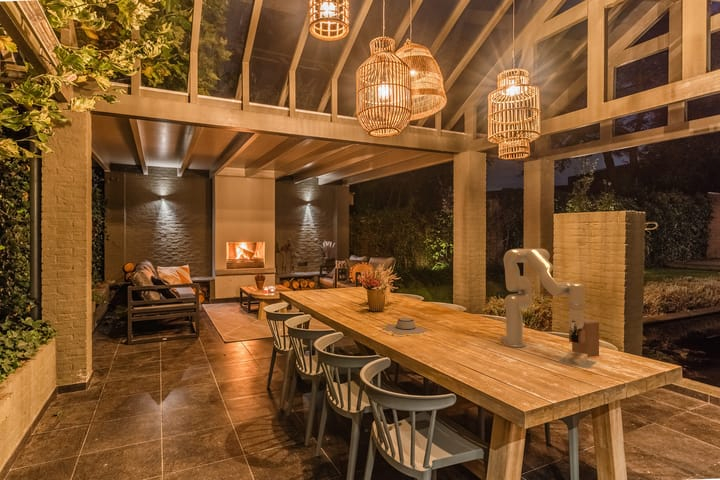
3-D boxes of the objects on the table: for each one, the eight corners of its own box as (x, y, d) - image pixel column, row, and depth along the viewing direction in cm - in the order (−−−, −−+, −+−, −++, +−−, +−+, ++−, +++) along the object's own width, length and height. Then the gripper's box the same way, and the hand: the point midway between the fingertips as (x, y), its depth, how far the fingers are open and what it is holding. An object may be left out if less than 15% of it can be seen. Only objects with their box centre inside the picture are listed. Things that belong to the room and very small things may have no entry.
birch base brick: (566, 362, 210) (566, 354, 210) (571, 358, 216) (571, 351, 216) (582, 365, 205) (582, 357, 205) (587, 361, 210) (587, 354, 210)
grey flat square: (556, 363, 210) (556, 362, 210) (566, 357, 221) (566, 356, 221) (588, 370, 200) (588, 368, 200) (597, 363, 210) (596, 361, 210)
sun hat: (370, 331, 290) (370, 318, 290) (404, 324, 313) (404, 312, 313) (406, 340, 262) (406, 326, 262) (441, 332, 285) (441, 319, 285)
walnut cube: (569, 341, 210) (568, 330, 210) (572, 339, 214) (572, 328, 214) (581, 343, 206) (581, 332, 206) (585, 341, 210) (585, 330, 210)
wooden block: (585, 358, 219) (585, 322, 219) (571, 353, 228) (571, 318, 228) (600, 357, 221) (599, 321, 221) (585, 352, 231) (585, 317, 231)
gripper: (574, 304, 219) (574, 336, 219) (563, 308, 207) (563, 342, 207) (589, 305, 213) (590, 339, 213) (579, 309, 201) (579, 345, 201)
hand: (577, 340), depth 210 cm, fingers closed on walnut cube, 6 cm apart
